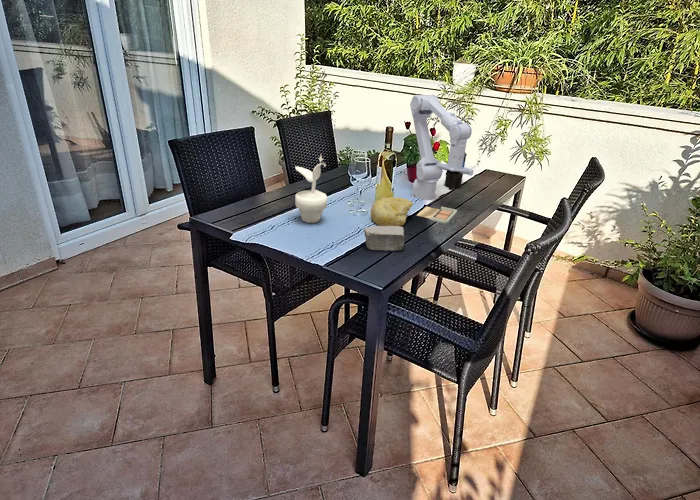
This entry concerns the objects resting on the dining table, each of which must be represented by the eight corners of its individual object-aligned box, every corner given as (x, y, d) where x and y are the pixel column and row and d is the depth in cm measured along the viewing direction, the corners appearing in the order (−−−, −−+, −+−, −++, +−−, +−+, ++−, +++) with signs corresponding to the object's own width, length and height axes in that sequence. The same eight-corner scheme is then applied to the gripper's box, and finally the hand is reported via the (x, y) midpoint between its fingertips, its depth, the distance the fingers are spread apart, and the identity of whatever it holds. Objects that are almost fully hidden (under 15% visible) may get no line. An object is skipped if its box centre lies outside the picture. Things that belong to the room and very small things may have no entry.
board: (415, 218, 177) (416, 215, 176) (425, 209, 186) (426, 206, 186) (430, 222, 174) (430, 218, 174) (439, 213, 184) (440, 209, 183)
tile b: (434, 221, 174) (435, 216, 173) (437, 218, 177) (438, 213, 176) (444, 224, 172) (445, 219, 171) (447, 220, 176) (448, 216, 175)
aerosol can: (440, 183, 220) (447, 142, 211) (455, 183, 222) (462, 142, 214) (449, 189, 213) (456, 146, 204) (464, 188, 215) (471, 146, 207)
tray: (429, 223, 173) (430, 217, 172) (440, 212, 185) (441, 206, 184) (445, 227, 171) (446, 220, 170) (456, 215, 182) (457, 210, 181)
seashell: (363, 226, 174) (383, 233, 160) (362, 198, 171) (382, 202, 158) (401, 220, 180) (422, 227, 167) (400, 193, 178) (422, 198, 165)
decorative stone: (411, 251, 151) (396, 238, 159) (414, 232, 148) (398, 220, 156) (372, 258, 145) (359, 244, 153) (374, 239, 142) (360, 225, 150)
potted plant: (332, 219, 171) (335, 153, 160) (314, 228, 162) (316, 160, 151) (304, 211, 177) (305, 147, 166) (286, 220, 168) (286, 153, 157)
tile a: (438, 217, 178) (439, 212, 177) (441, 214, 182) (442, 209, 181) (448, 219, 177) (449, 214, 176) (451, 216, 180) (452, 211, 179)
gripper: (435, 154, 175) (430, 188, 181) (472, 161, 169) (465, 195, 175) (441, 151, 180) (436, 183, 186) (477, 157, 174) (470, 191, 180)
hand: (451, 189), depth 181 cm, fingers closed
